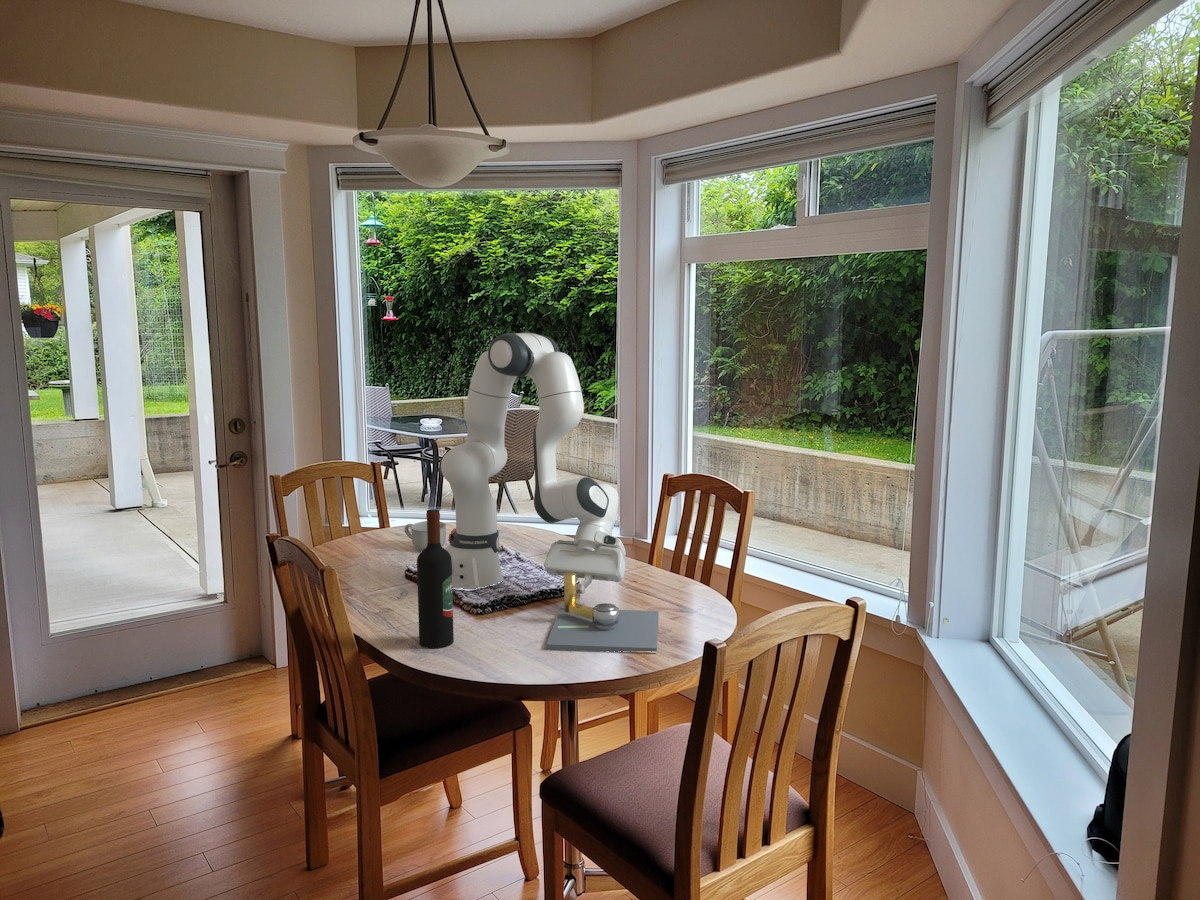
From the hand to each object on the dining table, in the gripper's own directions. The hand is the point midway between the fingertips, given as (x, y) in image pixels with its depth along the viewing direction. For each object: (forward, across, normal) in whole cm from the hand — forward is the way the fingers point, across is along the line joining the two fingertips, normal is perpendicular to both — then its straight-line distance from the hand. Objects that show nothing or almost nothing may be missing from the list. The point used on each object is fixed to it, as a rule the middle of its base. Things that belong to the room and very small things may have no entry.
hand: (577, 592), depth 207 cm
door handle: (+7, +6, -2) cm, 9 cm away
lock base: (+10, +10, -1) cm, 14 cm away
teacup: (-25, -67, +33) cm, 79 cm away
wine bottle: (+24, -23, -15) cm, 36 cm away
